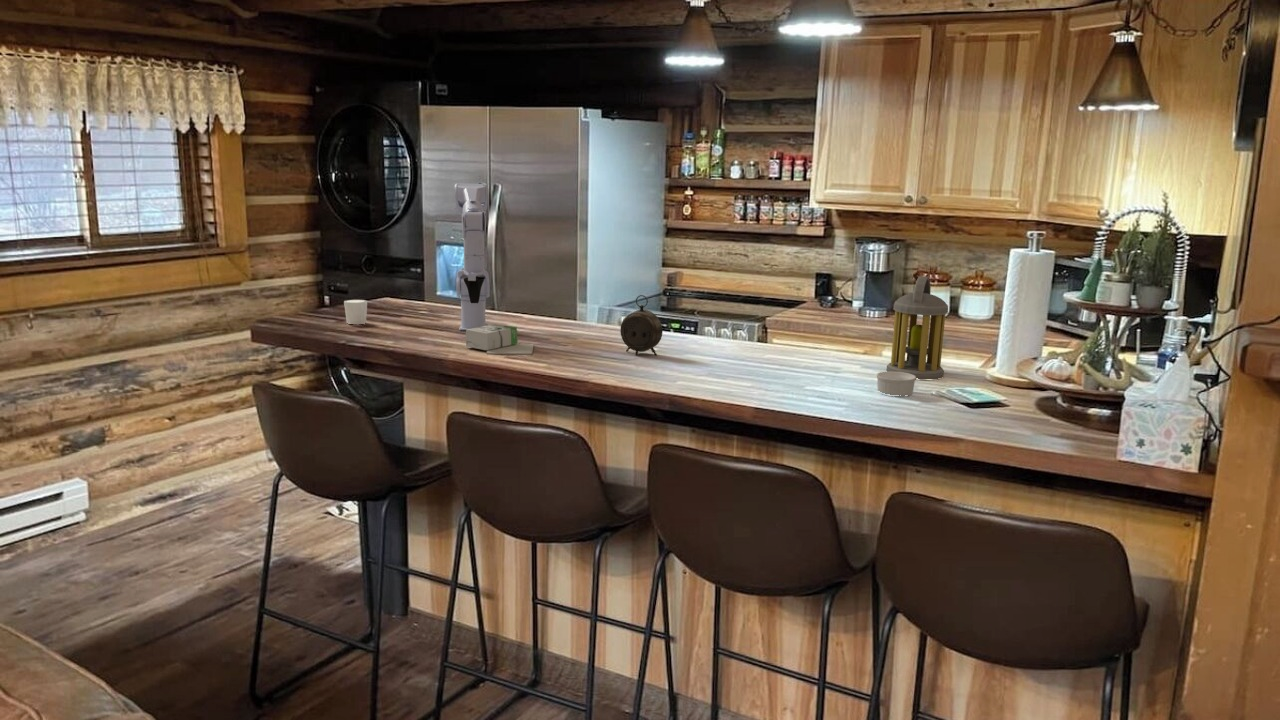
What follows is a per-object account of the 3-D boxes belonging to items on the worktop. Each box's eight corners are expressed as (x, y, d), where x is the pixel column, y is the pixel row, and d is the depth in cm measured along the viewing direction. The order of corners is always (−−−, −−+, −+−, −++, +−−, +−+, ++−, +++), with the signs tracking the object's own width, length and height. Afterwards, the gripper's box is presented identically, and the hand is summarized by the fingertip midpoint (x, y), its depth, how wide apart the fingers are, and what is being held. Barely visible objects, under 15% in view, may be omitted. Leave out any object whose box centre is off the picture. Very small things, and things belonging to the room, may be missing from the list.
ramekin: (891, 399, 217) (893, 381, 216) (867, 390, 225) (869, 372, 224) (922, 396, 221) (924, 378, 220) (898, 387, 229) (899, 370, 228)
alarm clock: (662, 355, 258) (664, 295, 254) (654, 358, 253) (656, 298, 250) (625, 350, 262) (627, 292, 259) (617, 354, 257) (618, 294, 254)
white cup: (364, 325, 288) (363, 303, 286) (341, 325, 288) (340, 302, 286) (370, 322, 295) (370, 299, 293) (348, 321, 295) (347, 298, 293)
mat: (490, 345, 265) (490, 343, 265) (533, 345, 266) (533, 344, 266) (486, 354, 253) (486, 352, 253) (531, 354, 254) (531, 353, 254)
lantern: (893, 365, 253) (901, 271, 247) (948, 372, 246) (957, 275, 241) (880, 375, 240) (888, 276, 235) (937, 382, 234) (947, 281, 229)
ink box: (517, 326, 263) (488, 332, 254) (517, 344, 264) (488, 351, 255) (494, 323, 268) (464, 329, 258) (494, 340, 269) (465, 347, 260)
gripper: (462, 252, 274) (463, 298, 277) (456, 257, 260) (457, 306, 263) (487, 252, 275) (487, 299, 278) (482, 258, 261) (483, 307, 264)
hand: (474, 302), depth 270 cm, fingers closed
